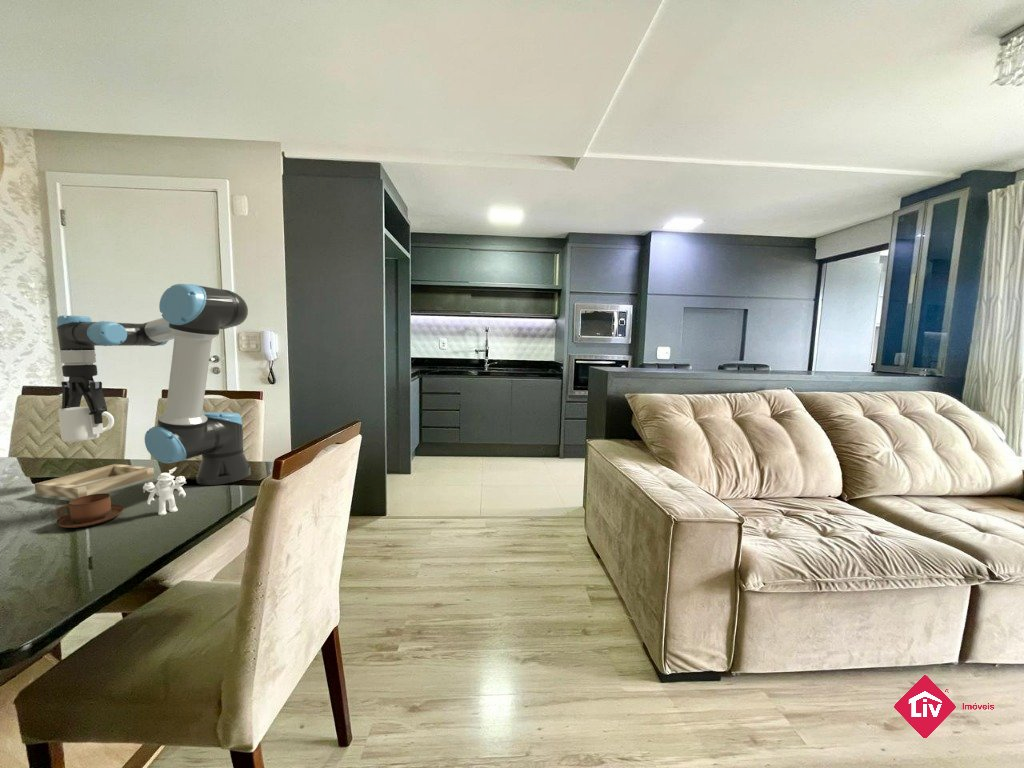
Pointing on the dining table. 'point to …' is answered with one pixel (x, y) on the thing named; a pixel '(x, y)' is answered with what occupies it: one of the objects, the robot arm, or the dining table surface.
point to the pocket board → (94, 482)
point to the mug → (79, 424)
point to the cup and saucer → (88, 511)
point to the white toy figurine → (165, 491)
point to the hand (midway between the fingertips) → (87, 432)
